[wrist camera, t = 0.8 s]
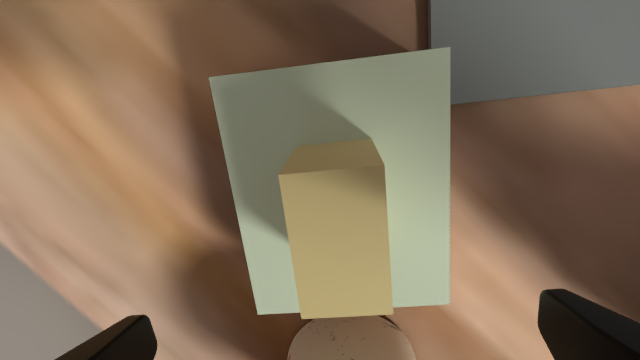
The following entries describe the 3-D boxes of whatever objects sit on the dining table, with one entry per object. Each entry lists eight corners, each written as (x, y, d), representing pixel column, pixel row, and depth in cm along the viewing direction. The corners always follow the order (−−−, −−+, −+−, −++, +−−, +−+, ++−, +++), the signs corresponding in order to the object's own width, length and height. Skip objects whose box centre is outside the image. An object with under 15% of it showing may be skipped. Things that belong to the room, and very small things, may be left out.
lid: (437, 50, 13) (503, 33, 8) (439, 281, 17) (486, 382, 11) (223, 76, 14) (150, 78, 9) (265, 292, 17) (231, 390, 12)
